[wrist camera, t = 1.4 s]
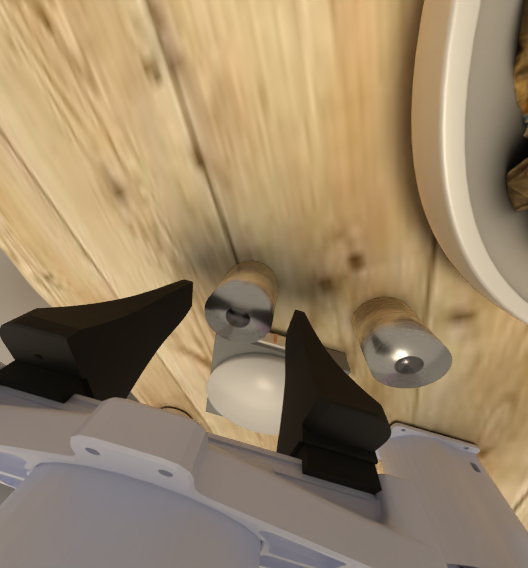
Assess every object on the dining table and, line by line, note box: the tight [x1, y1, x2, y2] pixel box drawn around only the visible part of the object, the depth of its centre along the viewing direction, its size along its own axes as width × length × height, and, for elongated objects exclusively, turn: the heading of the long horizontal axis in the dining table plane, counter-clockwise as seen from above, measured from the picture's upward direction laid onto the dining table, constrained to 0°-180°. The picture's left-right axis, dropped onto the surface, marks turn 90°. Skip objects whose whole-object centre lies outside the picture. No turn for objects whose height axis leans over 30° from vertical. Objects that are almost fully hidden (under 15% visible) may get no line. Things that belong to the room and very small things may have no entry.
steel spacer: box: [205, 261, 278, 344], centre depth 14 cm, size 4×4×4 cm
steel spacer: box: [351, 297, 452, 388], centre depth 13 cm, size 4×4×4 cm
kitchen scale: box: [206, 332, 350, 435], centre depth 19 cm, size 12×14×3 cm
